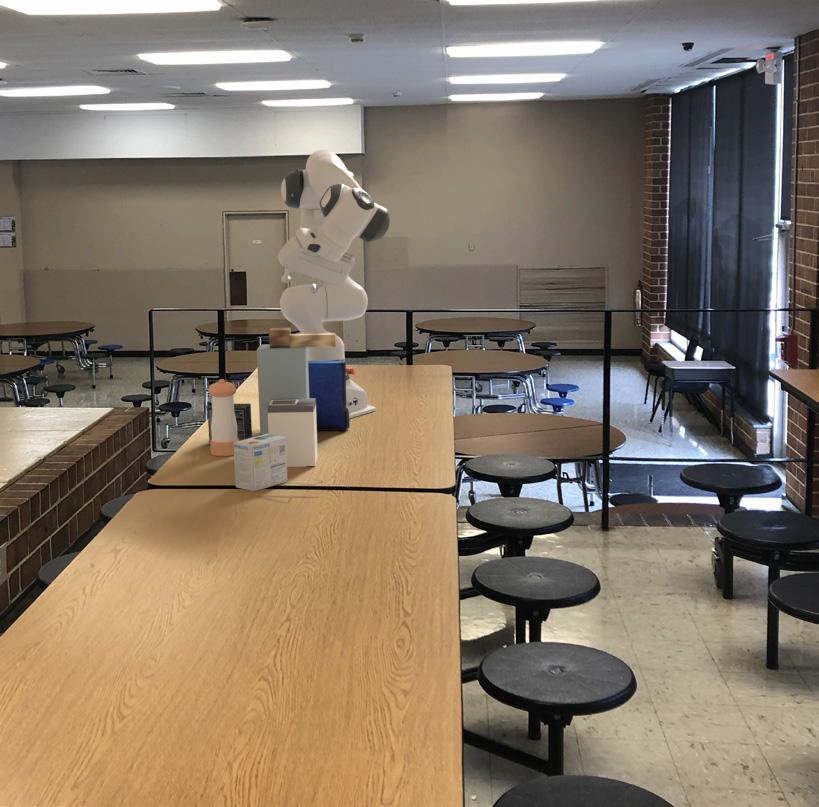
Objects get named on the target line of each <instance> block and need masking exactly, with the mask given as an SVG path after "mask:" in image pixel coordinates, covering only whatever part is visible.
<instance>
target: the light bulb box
mask: <svg viewBox="0 0 819 807" xmlns="http://www.w3.org/2000/svg"><path fill="white" fill-rule="evenodd" d="M233 445H234V455H233V459H234V460H233V461H234V475H235V476H234V477H235V480H234V481H235V488H237V489H238V488H239V489H242V490H246V491H251V492H256V491H260V490H264V489H267V488H270V487H273V486H278V485H281V484H284V483H286V482H288V467H287V459H286V437H284V436H277V435H271V434H264V435H260V434H259V435H258V436H252V438H249V439H245V440H241V441H236V442H233Z"/></svg>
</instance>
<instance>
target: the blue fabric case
mask: <svg viewBox="0 0 819 807" xmlns="http://www.w3.org/2000/svg"><path fill="white" fill-rule="evenodd" d="M346 364H347V360H346V359H345V360H344V359H342V360H331V361H308V372H309V398H316V423H317V431H345V430H348V429H349V428H350V425H351V423H350V421H351V420H350V419H351V418H349V410H348V409H347V408H346V368H347V366H346Z"/></svg>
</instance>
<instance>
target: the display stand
mask: <svg viewBox="0 0 819 807" xmlns="http://www.w3.org/2000/svg"><path fill="white" fill-rule="evenodd" d="M256 364H257V365H256V366H257V388H258V390H257V391H258V406H259V407H258V412H259V432H260V434H259V436H260V435H264V434H268V410H267V407H268V405H269V403H270V401H271V399H303V398H309V372H308V347H290V348H270V343H269V344H266V343H265V344H260V345H259V346H258V347H257V349H256Z"/></svg>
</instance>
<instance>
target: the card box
mask: <svg viewBox="0 0 819 807" xmlns="http://www.w3.org/2000/svg"><path fill="white" fill-rule="evenodd" d="M267 410H268V434H271V435H277V436H284V437H286V459H287V468H303V467H304V468H305V467H306V466H315V465H317V462H316V461H318V458H319V457H318V430H317V423H316V398H303V399H271V401H270V403H269V405H268V407H267ZM315 467H316V466H315ZM306 468H307V467H306Z"/></svg>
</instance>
